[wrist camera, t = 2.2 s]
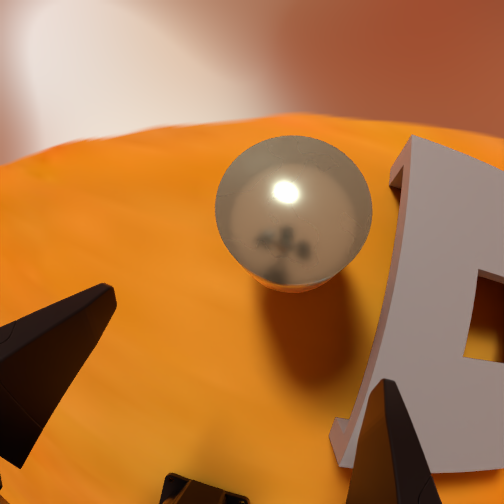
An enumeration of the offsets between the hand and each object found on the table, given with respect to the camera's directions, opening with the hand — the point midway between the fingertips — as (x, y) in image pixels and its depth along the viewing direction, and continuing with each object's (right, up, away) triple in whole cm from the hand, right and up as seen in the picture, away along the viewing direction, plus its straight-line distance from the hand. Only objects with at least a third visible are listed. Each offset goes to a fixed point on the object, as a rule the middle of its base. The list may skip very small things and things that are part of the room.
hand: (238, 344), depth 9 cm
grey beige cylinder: (+3, +3, +12) cm, 13 cm away
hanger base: (+16, -2, +10) cm, 19 cm away
